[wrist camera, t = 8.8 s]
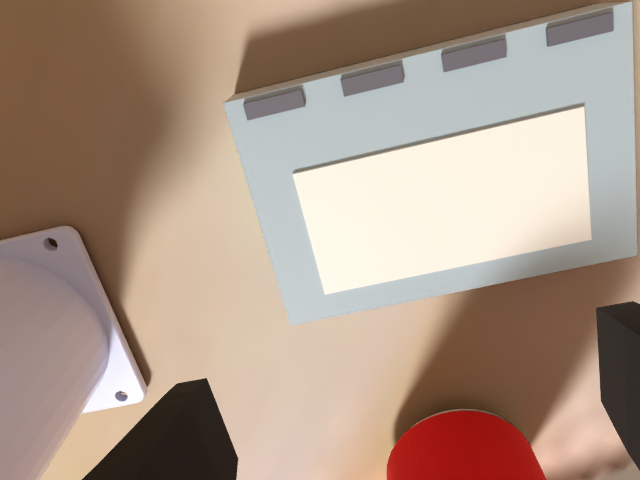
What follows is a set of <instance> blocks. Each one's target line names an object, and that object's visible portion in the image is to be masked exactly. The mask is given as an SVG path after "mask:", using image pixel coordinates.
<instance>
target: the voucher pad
mask: <svg viewBox="0 0 640 480" xmlns="http://www.w3.org/2000/svg"><path fill="white" fill-rule="evenodd" d="M223 105H224V108H225V111H226V115H227V118H228V121H229V124H230V128H231V131H232V134H233V138H234V141H235V144H236V148H237V151H238V154H239V157H240V161H241V164H242V167H243V171H244V174H245V177H246V181H247V184H248V187H249V190H250V194H251V197H252V200H253V204H254V207H255V210H256V214H257V217H258V220H259V223H260V227H261V230H262V233H263V237H264V240H265V243H266V247H267V250H268V253H269V256H270V260H271V263H272V266H273V270H274V273H275V276H276V279H277V283H278V286H279V289H280V293H281V296H282V299H283V303H284V306H285V309H286V312H287V316H288V319H289V322H290V326H291V325H296V324H301V323H306V322H311V321H316V320H321V319H326V318H331V317H336V316H341V315H346V314H351V313H356V312H361V311H366V310H371V309H376V308H381V307H385V306H390V305H395V304H400V303H405V302H410V301H415V300H420V299H425V298H430V297H435V296H440V295H445V294H450V293H455V292H460V291H465V290H470V289H475V288H480V287H485V286H489V285H494V284H499V283H504V282H509V281H514V280H519V279H524V278H529V277H534V276H539V275H544V274H549V273H554V272H559V271H564V270H569V269H574V268H579V267H584V266H589V265H593V264H598V263H603V262H608V261H613V260H618V259H623V258H628V257H633V256H637V211H636V162H635V113H634V65H633V16H632V1H627V2H609V3H597V4H593V5H589V6H585V7H581V8H577V9H573V10H569V11H565V12H561V13H557V14H553V15H549V16H545V17H541V18H537V19H533V20H529V21H525V22H521V23H517V24H513V25H509V26H505V27H501V28H497V29H493V30H489V31H485V32H481V33H477V34H473V35H469V36H465V37H462V38H458V39H454V40H450V41H446V42H442V43H438V44H434V45H430V46H426V47H422V48H418V49H414V50H410V51H406V52H402V53H398V54H394V55H390V56H386V57H382V58H378V59H374V60H370V61H366V62H362V63H358V64H354V65H350V66H346V67H342V68H338V69H334V70H330V71H326V72H322V73H318V74H314V75H310V76H306V77H302V78H298V79H294V80H290V81H286V82H282V83H278V84H274V85H270V86H266V87H262V88H258V89H254V90H250V91H246V92H242V93H238V94H234V95H233V96H231V97H230V98H229V99H228V100H227V101H225V102H224V103H223Z"/></svg>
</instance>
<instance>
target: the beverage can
mask: <svg viewBox="0 0 640 480" xmlns="http://www.w3.org/2000/svg"><path fill="white" fill-rule="evenodd" d="M387 480H546V478H545V476H544V474H543V471H542V469H541V467H540V465H539V463H538V461H537V459H536V457H535V454H534V452H533V450H532V448H531V446H530V444H529V442H528V441H527V439H526V438H525V437H524V435H523V434H522V433H521V432H520V431H519V430H518V429H517V428H516V427H515V426H513V425H512V424H511V423H510V422H508V421H507V420H505V419H503V418H502V417H500V416H497V415H495V414H492V413H489V412H486V411H481V410H475V409H455V410H448V411H444V412H440V413H437V414H434V415H431V416H429V417H427V418H425V419H423V420H421V421H419V422H418V423H416V424H415V425H414V426H412V427H411V428H410V429H409V430H408V431H407V432H406V433H405V434H403V436H402V437H401V438H400V439H399V440H398V442H397V443H396V444H395V446H394V448H393V450H392V451H391V454H390V457H389V460H388V464H387Z"/></svg>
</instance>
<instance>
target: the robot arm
mask: <svg viewBox="0 0 640 480" xmlns="http://www.w3.org/2000/svg"><path fill="white" fill-rule="evenodd" d="M48 238H52V239H54V240H55V241H56V242H57V245H58V247H54V246H52V245H51V244H50V243H49V240H48ZM596 314H597V333H598V352H599V371H600V390H601V402H602V404H603V406H604V408H605V410H606V412H607V414H608V415H609V417H610V419H611V421H612V423H613V425H614V427H615V429H616V431H617V433H618V435H619V437H620V439H621V441H622V442H623V444H624V446H625V448H626V450H627V452H628V454H629V455H630V457H631V458H632V460H633V461H634V463H635V464H636V466H637V467H638V469H639V470H640V304H638V303H636V302H633V301H632V302H627V303H621V304H615V305H610V306H604V307H599V308H596ZM119 391H123V392H125V393H126V394H127V395H122V394H121V393H120V392H119ZM146 393H147V386H146V384H145V382H144V379H143V377H142V375H141V373H140V370H139V368H138V366H137V364H136V361H135V359H134V357H133V355H132V352H131V350H130V348H129V345H128V343H127V341H126V339H125V336H124V334H123V332H122V330H121V327H120V325H119V323H118V321H117V318H116V316H115V314H114V312H113V309H112V307H111V305H110V302H109V300H108V298H107V296H106V293H105V291H104V289H103V287H102V284H101V282H100V280H99V278H98V275H97V273H96V271H95V269H94V266H93V264H92V262H91V259H90V257H89V255H88V253H87V250H86V248H85V246H84V244H83V241H82V239H81V237H80V235H79V233H78V232H77V231H76V230H75V229H74V228H72V227H69V226H59V227H55V228H50V229H46V230H42V231H38V232H33V233H29V234H25V235H20V236H16V237H12V238H7V239H3V240H0V480H40V478H41V477H42V475H43V474H44V472H45V470H46V469H47V467H48V466H49V464H50V462H51V461H52V459H53V458H54V456H55V454H56V453H57V451H58V450H59V448H60V446H61V445H62V443H63V442H64V440H65V438H66V437H67V435H68V434H69V432H70V430H71V429H72V427H73V426H74V424H75V422H76V421H77V419H78V418H79V416H80V414H82V413H88V412H93V411H98V410H103V409H108V408H114V407H119V406H124V405H129V404H134V403H138V402H141V401H142V400H143V399H144V398H145V396H146ZM237 465H238V457H237V455H236V452H235V450H234V447H233V444H232V442H231V439H230V437H229V434H228V432H227V429H226V426H225V424H224V421H223V419H222V416H221V414H220V411H219V409H218V406H217V403H216V401H215V398H214V396H213V393H212V391H211V388H210V385H209V383H208V380H207V378H205V379H200V380H194V381H189V382H183V383H178V384H176V385H175V386H174V387H173V388H172V389H170V390H169V391H168V392H167V393H166V394H165V395H164V396H163V397H162V398H161V399H160V400H159V401H158V402H157V403H156V404H155V405H154V406H153V407H152V408H151V409H150V411H149V412H148V413H147V414H146V415H145V416H144V417H143V418H142V419H141V420H140V421H139V422H138V423H137V424H136V425H135V426H134V427H133V428H132V429H131V430H130V431H129V432H128V434H127V435H126V436H125V437H124V438H123V439H122V440H121V441H120V442H119V443H118V444H117V445H116V446H115V447H114V448H113V449H112V450H111V451H110V452H109V453H108V454H107V455H106V456H105V457H104V458H103V459H102V460H101V461H100V463H99V464H98V465H97V466H96V467H94V468H93V469H92V470H91V471H90V472H89V473H88V474H87V475H86V476H85V477H84V478H83V479H82V480H236V476H237Z"/></svg>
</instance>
